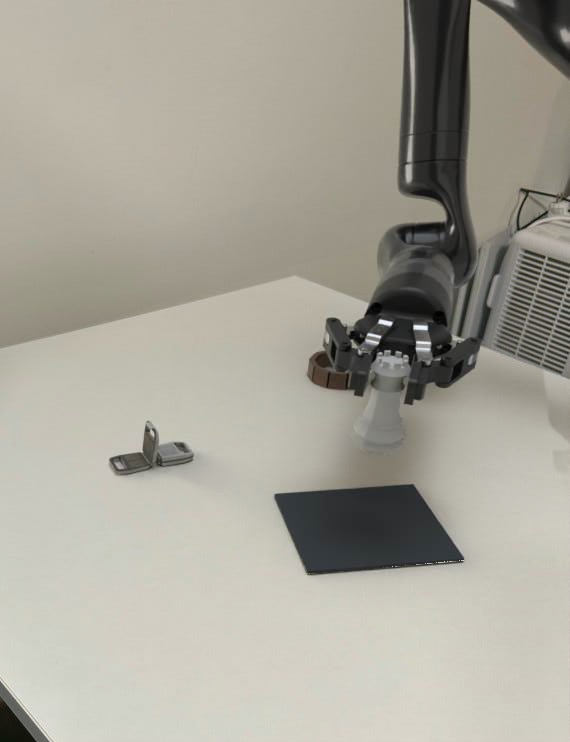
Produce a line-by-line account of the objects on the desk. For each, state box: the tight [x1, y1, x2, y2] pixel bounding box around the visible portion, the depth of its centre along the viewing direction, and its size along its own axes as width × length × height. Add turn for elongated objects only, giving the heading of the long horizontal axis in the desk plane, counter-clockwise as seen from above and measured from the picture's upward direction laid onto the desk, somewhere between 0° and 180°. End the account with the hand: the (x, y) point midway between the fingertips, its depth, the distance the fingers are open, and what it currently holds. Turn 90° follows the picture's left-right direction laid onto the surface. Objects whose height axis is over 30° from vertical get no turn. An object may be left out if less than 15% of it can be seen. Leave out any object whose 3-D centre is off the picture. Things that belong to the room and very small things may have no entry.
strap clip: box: [108, 420, 195, 474], centre depth 84 cm, size 8×3×4 cm, turn 111°
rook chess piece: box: [351, 350, 411, 456], centre depth 69 cm, size 4×4×8 cm
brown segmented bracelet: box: [307, 349, 350, 391], centre depth 101 cm, size 7×7×2 cm
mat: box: [273, 483, 465, 575], centre depth 76 cm, size 14×12×1 cm
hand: (385, 389), depth 65 cm, fingers closed on rook chess piece, 3 cm apart
